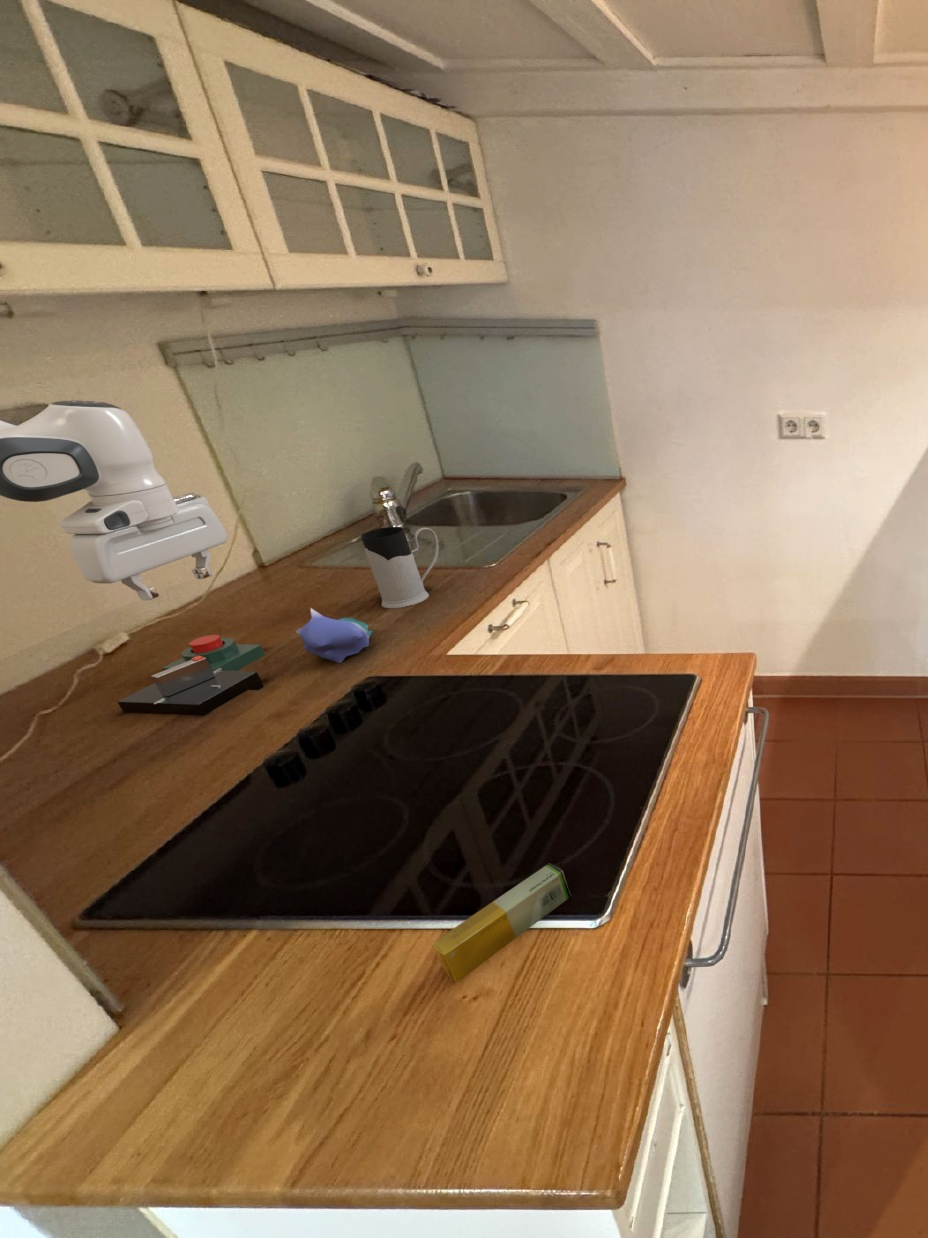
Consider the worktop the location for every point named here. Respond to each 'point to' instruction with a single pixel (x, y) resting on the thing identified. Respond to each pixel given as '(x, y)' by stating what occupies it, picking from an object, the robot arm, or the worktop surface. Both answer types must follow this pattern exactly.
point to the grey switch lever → (183, 676)
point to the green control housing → (224, 656)
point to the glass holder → (396, 566)
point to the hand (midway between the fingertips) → (178, 587)
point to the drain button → (206, 643)
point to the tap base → (193, 695)
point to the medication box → (501, 922)
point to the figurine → (334, 637)
